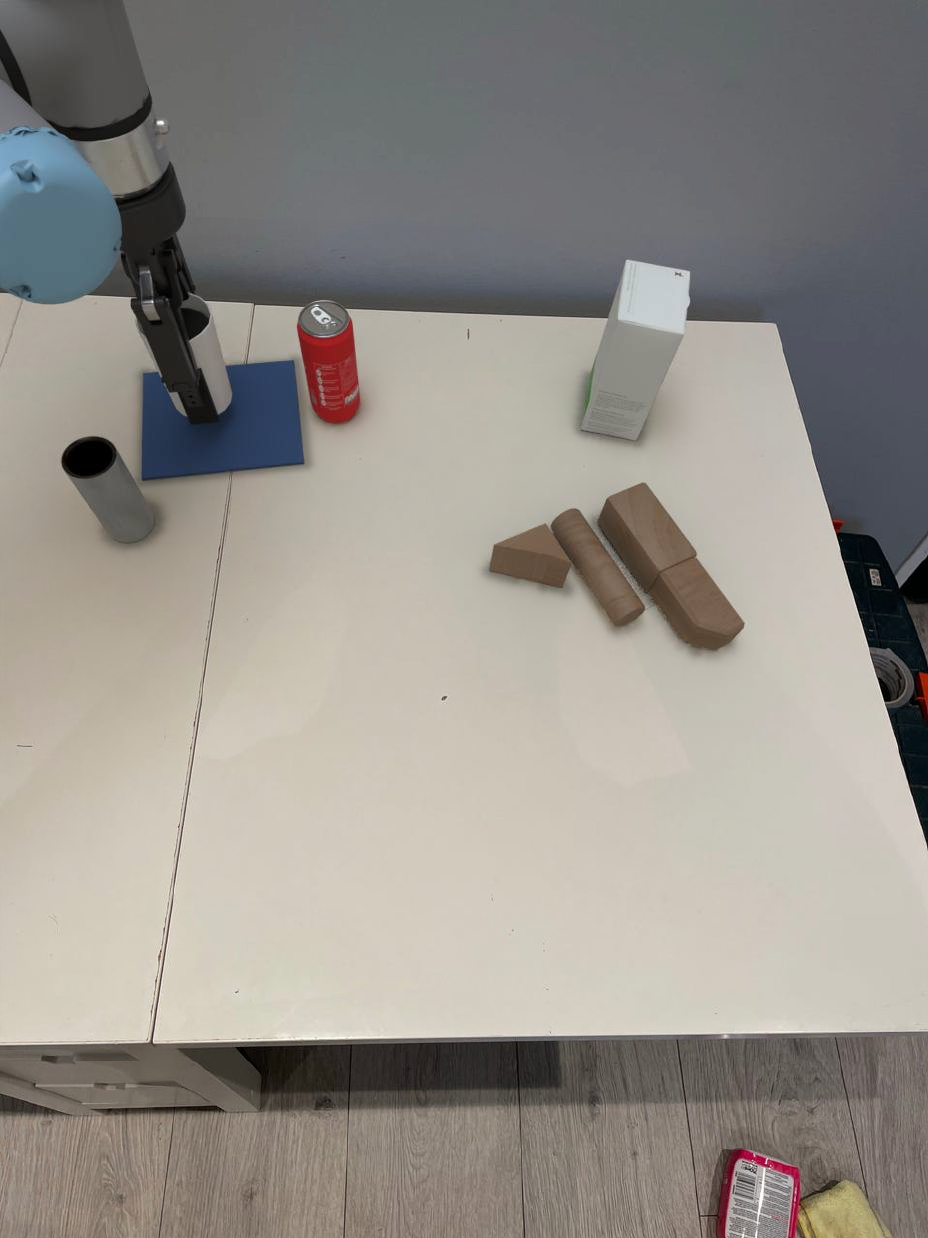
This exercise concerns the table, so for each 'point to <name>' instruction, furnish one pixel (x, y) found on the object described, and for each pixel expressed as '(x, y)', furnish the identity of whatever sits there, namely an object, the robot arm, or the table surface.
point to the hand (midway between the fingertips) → (203, 394)
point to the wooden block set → (648, 554)
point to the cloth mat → (225, 426)
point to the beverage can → (329, 360)
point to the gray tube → (108, 488)
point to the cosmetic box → (636, 348)
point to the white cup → (201, 352)
